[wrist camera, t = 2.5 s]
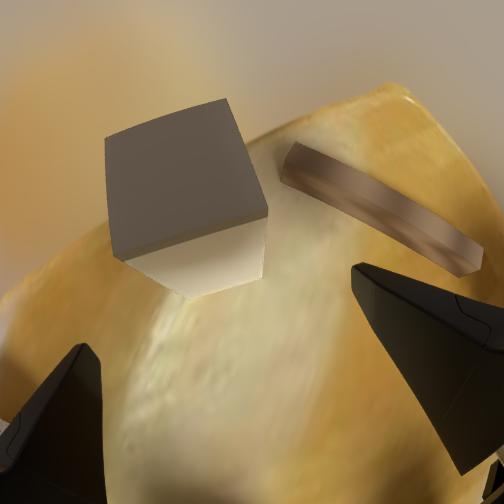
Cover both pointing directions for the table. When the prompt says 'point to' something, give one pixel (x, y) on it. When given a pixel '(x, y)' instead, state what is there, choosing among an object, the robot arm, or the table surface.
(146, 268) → the carton
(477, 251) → the brown wooden bar
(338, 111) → the table surface
